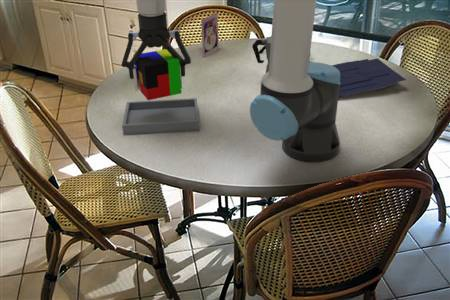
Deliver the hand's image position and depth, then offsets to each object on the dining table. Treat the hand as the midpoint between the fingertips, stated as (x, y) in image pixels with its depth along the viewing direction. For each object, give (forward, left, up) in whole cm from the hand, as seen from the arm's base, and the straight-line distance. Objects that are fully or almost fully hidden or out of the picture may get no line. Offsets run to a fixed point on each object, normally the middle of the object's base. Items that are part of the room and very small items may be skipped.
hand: (158, 87), depth 140 cm
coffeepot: (+24, -38, -11) cm, 46 cm away
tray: (0, 0, -10) cm, 10 cm away
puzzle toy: (0, 0, -1) cm, 1 cm away
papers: (+20, -64, -11) cm, 67 cm away
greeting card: (+58, -16, -11) cm, 61 cm away
